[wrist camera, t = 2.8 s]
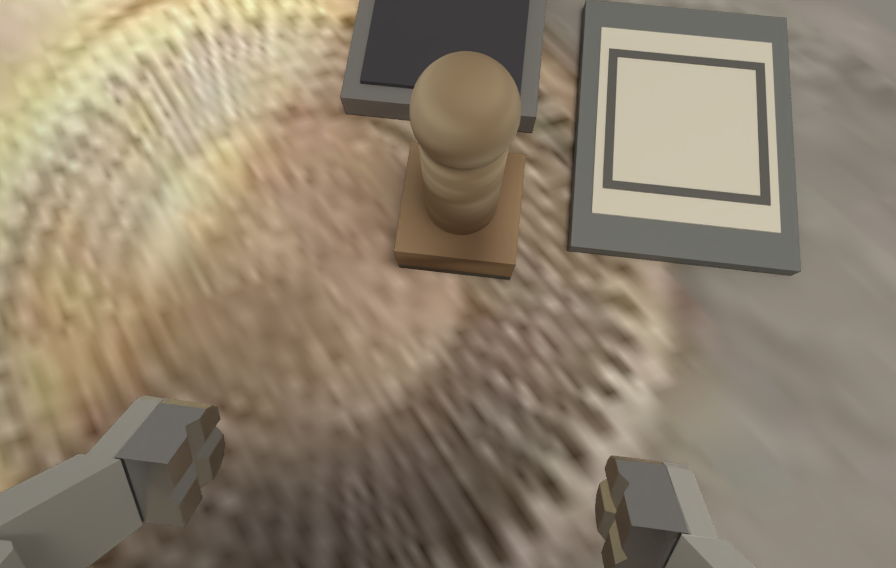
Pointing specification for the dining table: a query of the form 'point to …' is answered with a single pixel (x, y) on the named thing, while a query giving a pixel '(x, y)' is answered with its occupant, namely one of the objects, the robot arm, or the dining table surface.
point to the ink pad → (438, 49)
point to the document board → (685, 139)
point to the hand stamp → (462, 170)
